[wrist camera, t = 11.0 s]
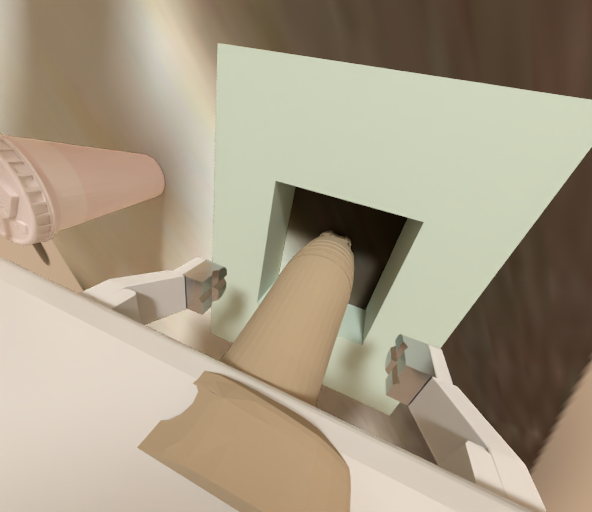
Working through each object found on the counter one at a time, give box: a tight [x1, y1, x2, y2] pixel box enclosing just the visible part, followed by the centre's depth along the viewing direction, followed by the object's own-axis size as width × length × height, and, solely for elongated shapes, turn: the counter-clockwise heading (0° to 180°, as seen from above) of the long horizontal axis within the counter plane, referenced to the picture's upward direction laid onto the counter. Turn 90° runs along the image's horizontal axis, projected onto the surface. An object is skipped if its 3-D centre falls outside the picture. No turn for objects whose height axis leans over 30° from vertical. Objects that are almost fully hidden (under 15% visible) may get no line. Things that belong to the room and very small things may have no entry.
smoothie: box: [0, 133, 165, 245], centre depth 14 cm, size 6×6×14 cm
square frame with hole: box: [211, 43, 592, 416], centre depth 16 cm, size 20×16×4 cm
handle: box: [137, 230, 354, 512], centre depth 11 cm, size 5×6×15 cm
